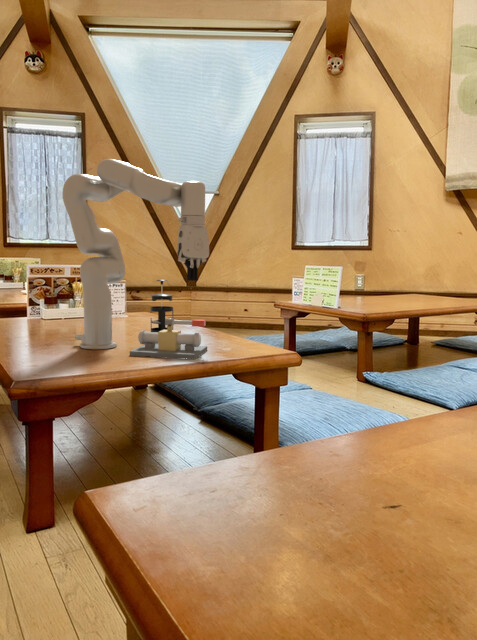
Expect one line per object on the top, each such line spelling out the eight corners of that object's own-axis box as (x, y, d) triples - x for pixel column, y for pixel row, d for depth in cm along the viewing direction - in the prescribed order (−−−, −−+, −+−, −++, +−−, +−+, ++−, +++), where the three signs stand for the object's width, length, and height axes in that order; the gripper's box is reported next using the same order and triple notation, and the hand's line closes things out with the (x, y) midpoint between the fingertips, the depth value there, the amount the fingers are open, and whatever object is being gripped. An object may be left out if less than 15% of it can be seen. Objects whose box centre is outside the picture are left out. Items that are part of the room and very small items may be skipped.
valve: (129, 355, 172) (129, 327, 171) (147, 347, 188) (147, 321, 187) (194, 359, 168) (194, 330, 167) (207, 350, 184) (207, 324, 182)
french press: (175, 339, 206) (175, 280, 203) (151, 339, 204) (150, 280, 201) (171, 334, 218) (171, 278, 215) (148, 334, 215) (148, 278, 212)
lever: (164, 325, 175) (164, 319, 175) (166, 324, 178) (166, 318, 178) (203, 326, 174) (203, 320, 173) (205, 325, 177) (205, 319, 176)
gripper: (181, 220, 158) (181, 281, 160) (218, 223, 168) (217, 280, 171) (166, 221, 163) (166, 280, 165) (202, 223, 173) (202, 279, 176)
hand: (192, 280), depth 168 cm, fingers closed
